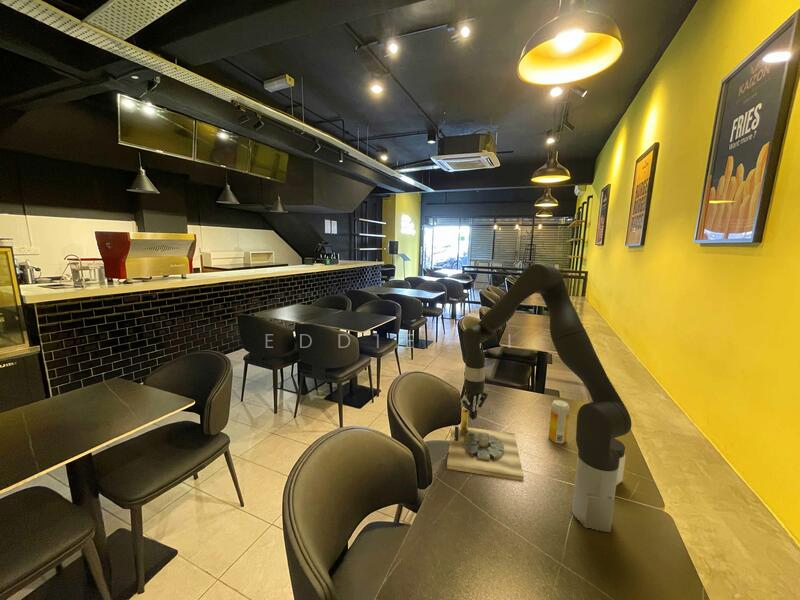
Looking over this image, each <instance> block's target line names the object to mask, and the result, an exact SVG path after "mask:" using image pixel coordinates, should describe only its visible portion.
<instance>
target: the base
mask: <svg viewBox="0 0 800 600" xmlns="http://www.w3.org/2000/svg"><path fill="white" fill-rule="evenodd" d="M460 427H461V425H451V429H450V434H449V435H450V436H449V444H448V445H449V446H448V451H447V452H448V453H449V454H448V453H447V459H446V460H447V462H446V469H447V470H452V471H458V472H466V473H471V474H478V475H484V476H490V477H498V478H502V479H503V478H504V479H509V480H510V479H511V480H515V481H523V482H524V479H525V477H524V472H523V468H522V463H521V458H520V454H519V448H518V443H517V440H516V436H515V433H513V432H505V431H498V430H489V429H483V428H476V427H475V428H474V427H468V431H470V432H471V433H475V434H476V435H478V432H480V434H479V443H478V444H476V445H477V446H479V447H480V448H485V449H487V448H489V447H490V446H489V445H488V437H490V436H495V437H496V438H498V439H499V440H501V443H502V444H504V454H503V456H502V457H500V458H498V459H495V460H494V459H492V458H491V457H490V461H489V460H483V459H477V455H475V456H471V455H470V454H469V453H468V452H466V451H465V448H464V447H463V442H464V438H466V437H465V436H464V435H462V434H461V433H460V430H461V428H460ZM459 429H460V430H459ZM488 434H489V435H488ZM455 438H456V439H455ZM454 440H455V441H454Z"/></svg>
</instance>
